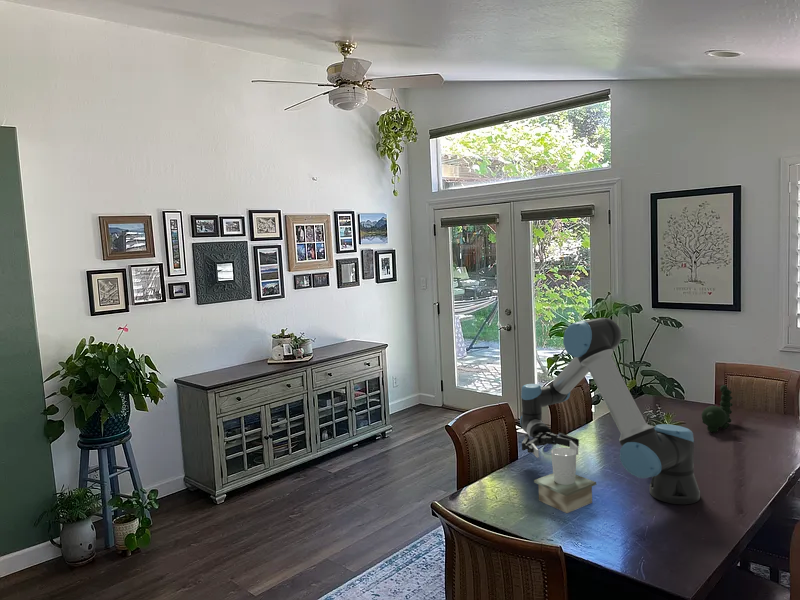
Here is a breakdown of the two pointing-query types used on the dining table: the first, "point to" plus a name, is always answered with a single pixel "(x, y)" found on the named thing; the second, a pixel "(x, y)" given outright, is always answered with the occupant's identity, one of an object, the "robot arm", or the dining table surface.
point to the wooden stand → (565, 493)
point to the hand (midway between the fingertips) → (557, 452)
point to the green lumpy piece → (718, 412)
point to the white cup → (564, 465)
